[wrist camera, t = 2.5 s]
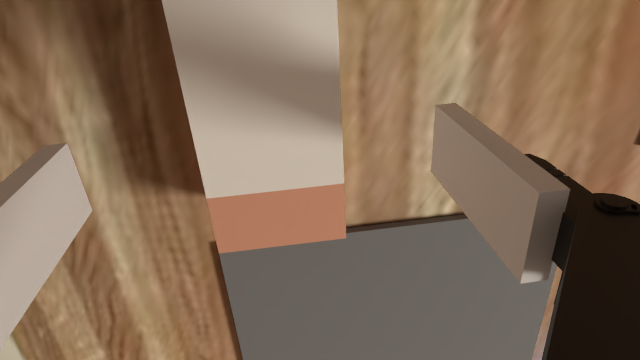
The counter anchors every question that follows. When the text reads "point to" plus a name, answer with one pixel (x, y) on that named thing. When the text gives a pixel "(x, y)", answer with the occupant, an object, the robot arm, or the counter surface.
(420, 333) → the mat
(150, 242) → the counter surface
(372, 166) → the counter surface
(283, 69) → the pink tipped block
